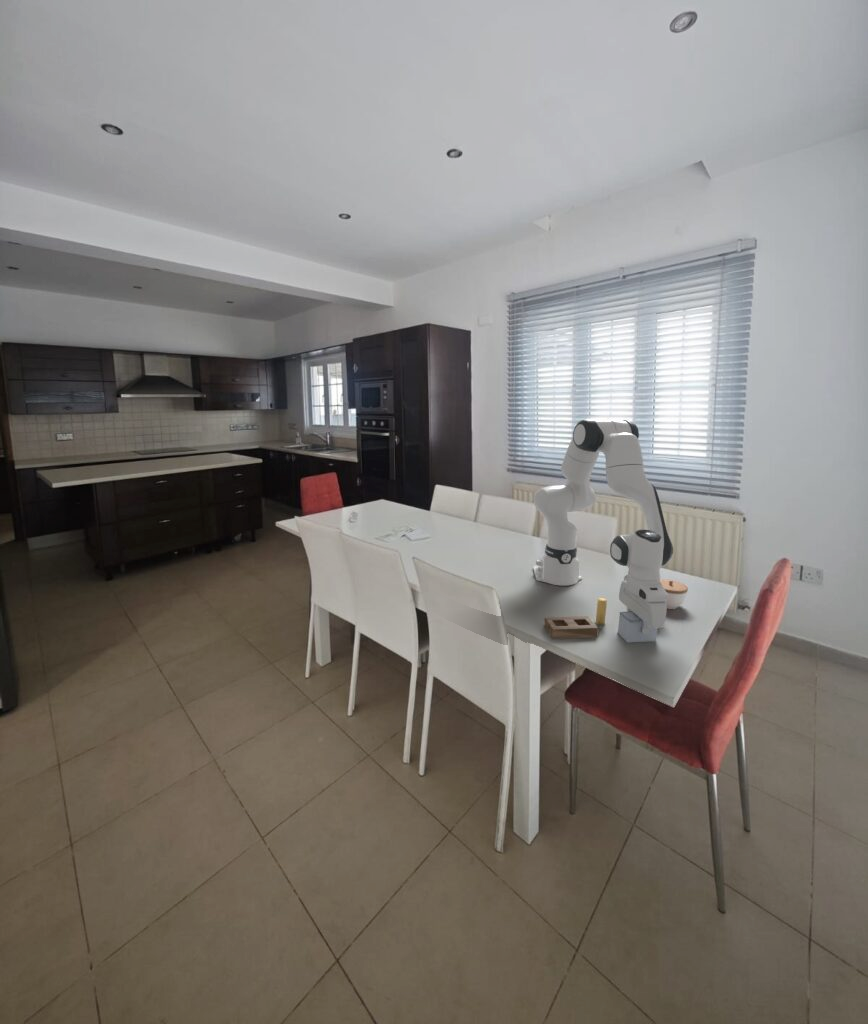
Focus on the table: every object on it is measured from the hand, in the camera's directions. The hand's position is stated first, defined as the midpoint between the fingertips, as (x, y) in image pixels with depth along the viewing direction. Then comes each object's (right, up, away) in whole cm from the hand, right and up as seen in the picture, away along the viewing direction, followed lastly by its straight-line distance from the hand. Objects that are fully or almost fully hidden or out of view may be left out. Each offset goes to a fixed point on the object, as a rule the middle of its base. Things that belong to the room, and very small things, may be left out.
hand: (637, 627), depth 139 cm
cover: (0, -3, +1) cm, 3 cm away
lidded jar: (+21, +2, +23) cm, 31 cm away
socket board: (-19, -2, +4) cm, 20 cm away
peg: (-8, -1, +10) cm, 13 cm away
